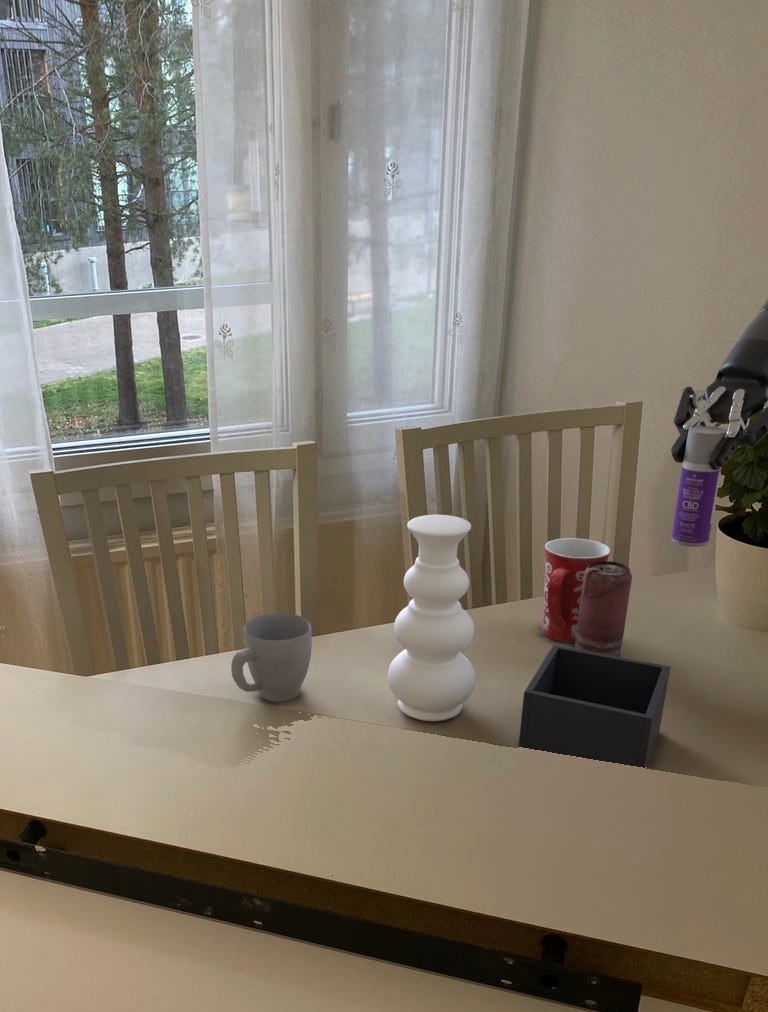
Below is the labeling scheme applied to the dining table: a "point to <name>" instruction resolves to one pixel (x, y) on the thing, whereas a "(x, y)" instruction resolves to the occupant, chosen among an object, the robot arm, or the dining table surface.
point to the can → (603, 607)
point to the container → (697, 488)
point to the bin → (594, 706)
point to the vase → (434, 625)
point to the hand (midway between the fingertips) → (694, 462)
